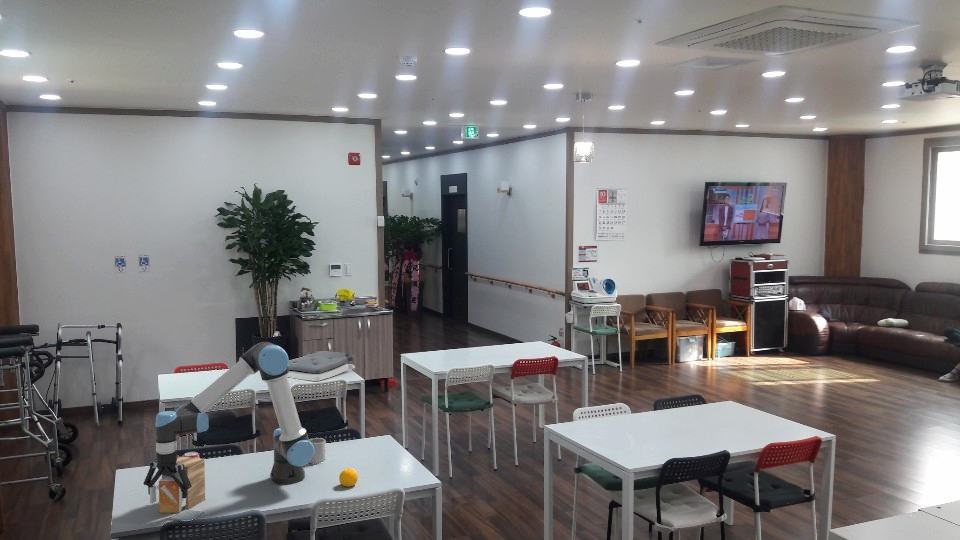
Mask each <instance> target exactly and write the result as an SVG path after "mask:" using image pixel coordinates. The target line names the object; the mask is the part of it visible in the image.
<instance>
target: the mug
mask: <svg viewBox="0 0 960 540" xmlns="http://www.w3.org/2000/svg"><path fill="white" fill-rule="evenodd" d="M309 441H310V442H311V443H312V444H313V446H314V456H313V457H312V459H311V461H310V462H309V463H308V464H310V463H320V464H322V463H321V462H324V461H325V460H327V459H326V458H327V457H326V455H327V454H326V453H327V452H326V451H327V450H326V448H327V447H326V439H324V438H321V437H320V438H319V437H315V438H314V437H313V438H310V439H309ZM325 462H326V461H325ZM325 462H324V463H325Z"/></svg>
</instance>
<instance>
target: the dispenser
mask: <svg viewBox="0 0 960 540" xmlns="http://www.w3.org/2000/svg"><path fill="white" fill-rule="evenodd" d="M176 463H177V465H181V464H184V469H185V472H186V474H187V476H188V478H189V481H190V483H191V485H192V487H191V488H189V489H187V497H186V505H185V507H184V510H185V509H186V510H191V509H192V508H193V507H196V506H197V505H199V504H201V503H202V502H204V501H206V480H205V479H206V477H205V476H206V475H205V472H206V470H205V467H206V466H205V458H190V457H184V456H177V461H176ZM173 474H174V473H173ZM164 476H167V475H161V478H163V477H164ZM169 476H170V475H169Z"/></svg>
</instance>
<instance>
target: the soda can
mask: <svg viewBox="0 0 960 540" xmlns="http://www.w3.org/2000/svg"><path fill="white" fill-rule="evenodd" d="M183 457H190V458H200V455H199V452H197V451H188V452H186V453H184V455H183ZM200 459H201V458H200Z"/></svg>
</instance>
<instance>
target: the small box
mask: <svg viewBox="0 0 960 540" xmlns="http://www.w3.org/2000/svg"><path fill="white" fill-rule="evenodd" d="M180 490H181V489H180V487H179V486H178V484H177V483H176V482H175V480H174V479H173V478H172V477H171V476H164V477H163V478H162V477H161V478H160V479H158V504H159V505H158V512H159V513H160V514H161V513H163V514H164V513H165V514H166V513H168V514H169V513H171V514H173V513H176V514H178V513H180V512H181V511H183V510H184V509H185V506H183V507H180Z"/></svg>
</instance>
